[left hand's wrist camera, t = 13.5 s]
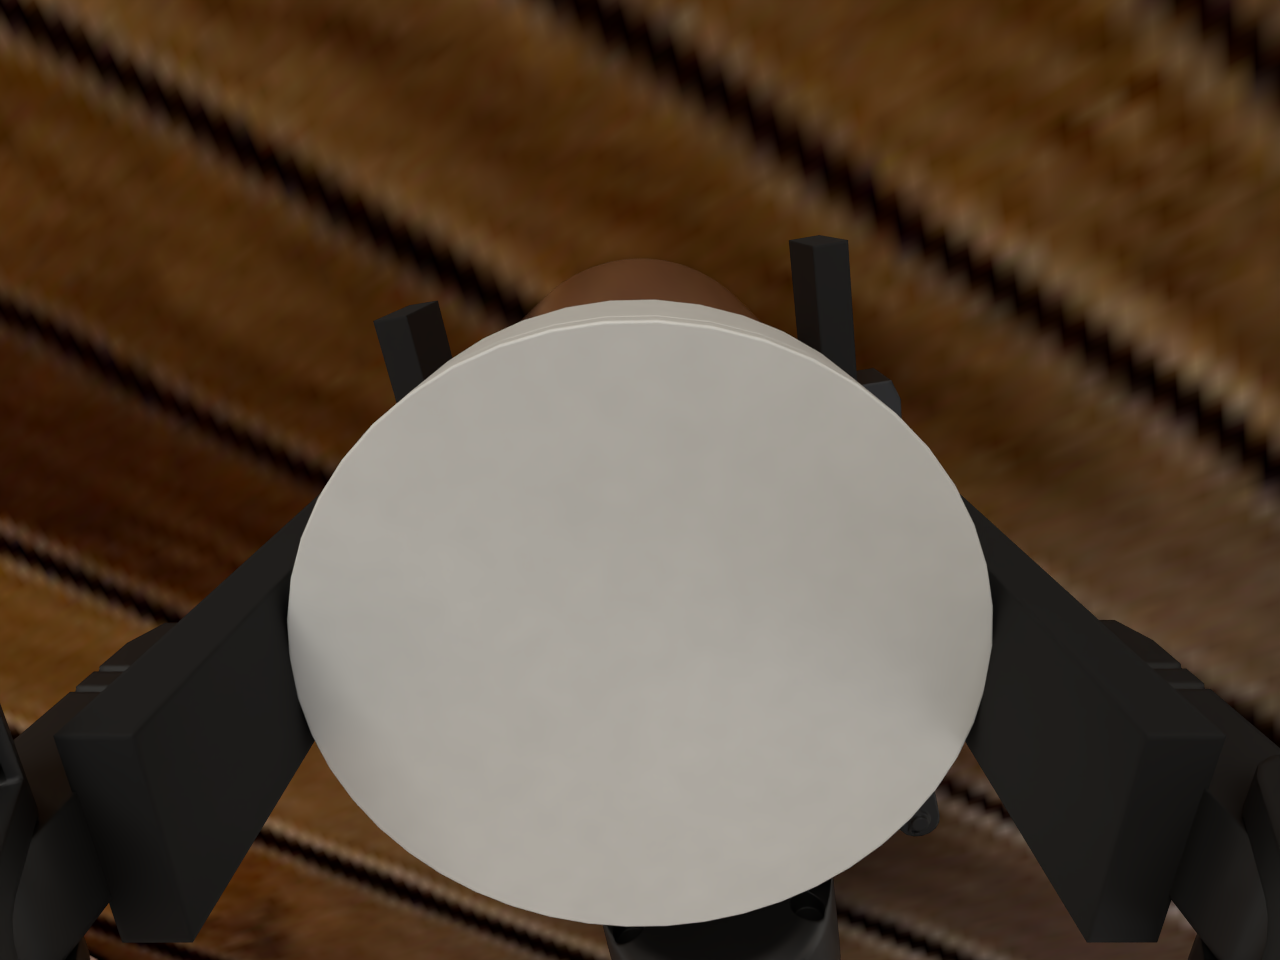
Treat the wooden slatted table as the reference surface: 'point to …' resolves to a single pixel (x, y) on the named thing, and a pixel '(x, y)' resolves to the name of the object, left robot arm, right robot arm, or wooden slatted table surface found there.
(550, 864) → the lid
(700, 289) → the jar
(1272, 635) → the wooden slatted table surface
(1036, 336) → the wooden slatted table surface
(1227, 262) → the wooden slatted table surface
